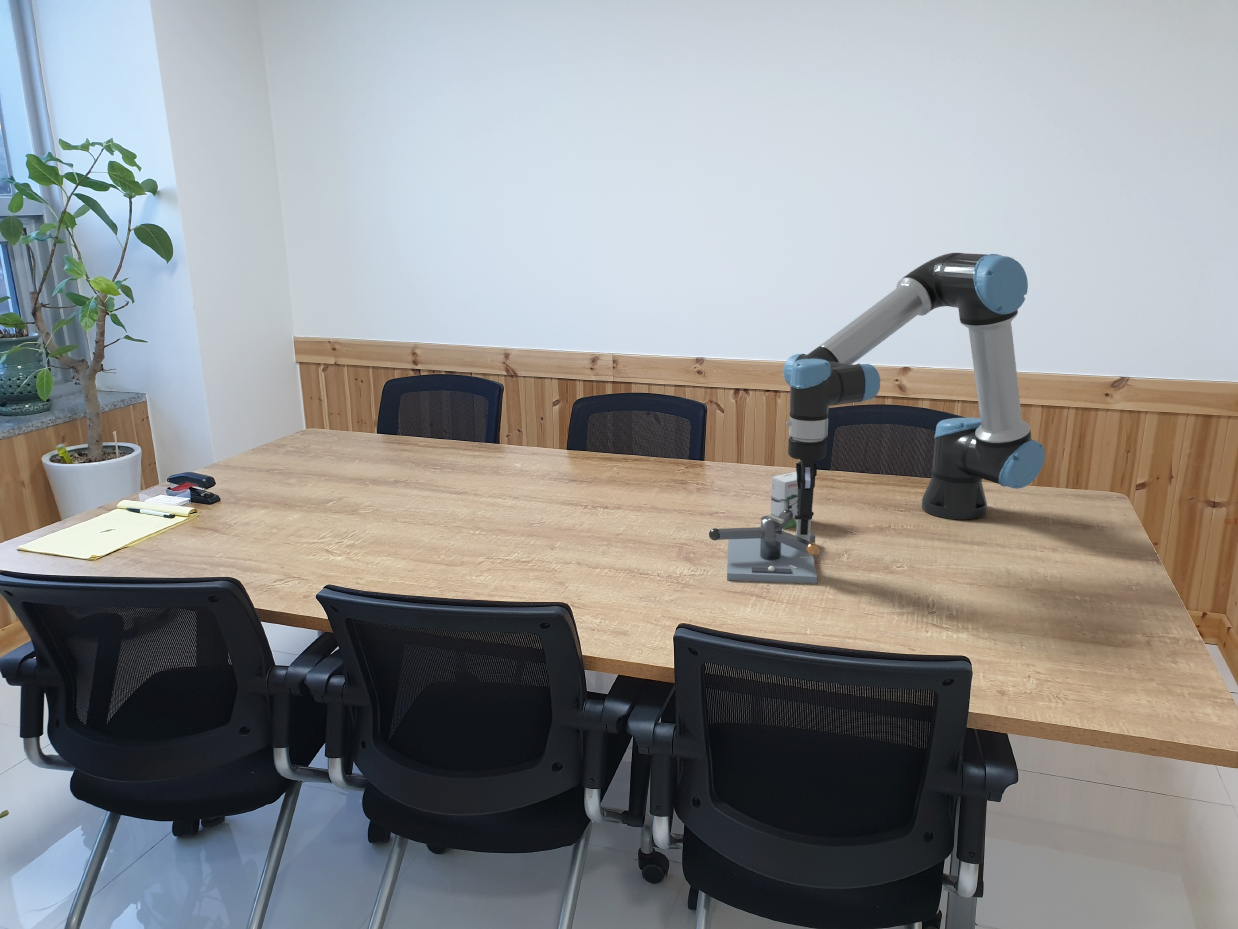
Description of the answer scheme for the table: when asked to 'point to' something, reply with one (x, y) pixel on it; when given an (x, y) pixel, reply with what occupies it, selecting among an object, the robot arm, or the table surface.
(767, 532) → the capstan
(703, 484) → the table surface
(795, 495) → the ink box
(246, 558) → the table surface
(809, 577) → the stand
